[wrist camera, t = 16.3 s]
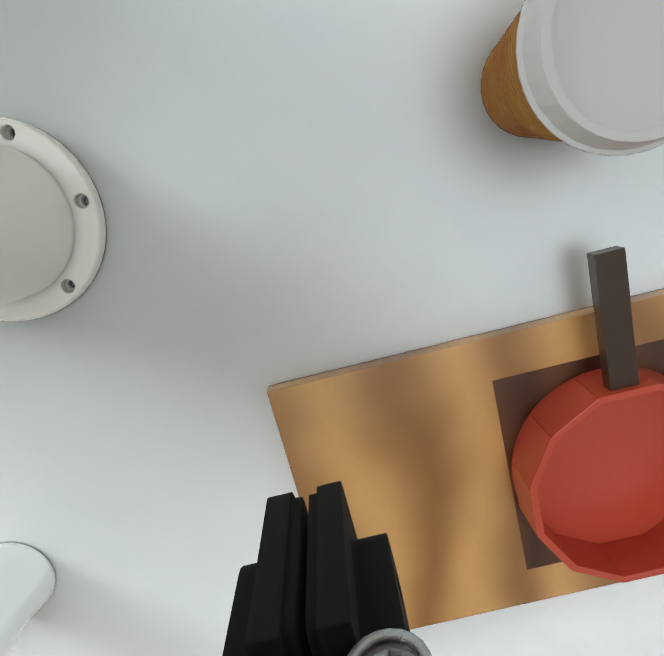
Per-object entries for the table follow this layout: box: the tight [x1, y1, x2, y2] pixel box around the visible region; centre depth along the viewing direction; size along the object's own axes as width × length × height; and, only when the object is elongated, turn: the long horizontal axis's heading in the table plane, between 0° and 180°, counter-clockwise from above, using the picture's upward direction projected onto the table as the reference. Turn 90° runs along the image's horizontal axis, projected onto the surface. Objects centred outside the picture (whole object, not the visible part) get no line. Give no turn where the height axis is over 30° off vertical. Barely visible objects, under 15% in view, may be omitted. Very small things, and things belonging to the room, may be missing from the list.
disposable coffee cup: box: [481, 0, 664, 156], centre depth 27 cm, size 10×10×12 cm
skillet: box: [511, 246, 664, 582], centre depth 35 cm, size 14×23×4 cm, turn 14°
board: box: [268, 289, 664, 629], centre depth 39 cm, size 32×22×1 cm
